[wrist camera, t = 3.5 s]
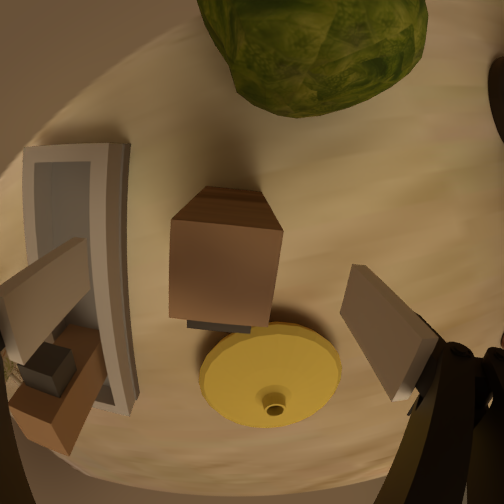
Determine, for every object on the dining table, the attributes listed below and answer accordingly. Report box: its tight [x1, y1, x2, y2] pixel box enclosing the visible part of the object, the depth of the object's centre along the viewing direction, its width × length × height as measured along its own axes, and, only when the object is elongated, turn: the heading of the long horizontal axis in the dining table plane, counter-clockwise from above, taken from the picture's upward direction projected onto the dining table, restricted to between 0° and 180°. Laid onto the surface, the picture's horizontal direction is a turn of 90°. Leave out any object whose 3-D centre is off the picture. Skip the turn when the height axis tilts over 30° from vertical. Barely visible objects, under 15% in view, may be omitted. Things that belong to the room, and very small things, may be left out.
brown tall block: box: [169, 186, 284, 334], centre depth 21 cm, size 8×5×14 cm, turn 173°
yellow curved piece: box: [199, 321, 342, 428], centre depth 30 cm, size 16×16×7 cm
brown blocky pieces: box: [8, 143, 140, 456], centre depth 21 cm, size 30×10×16 cm, turn 173°
